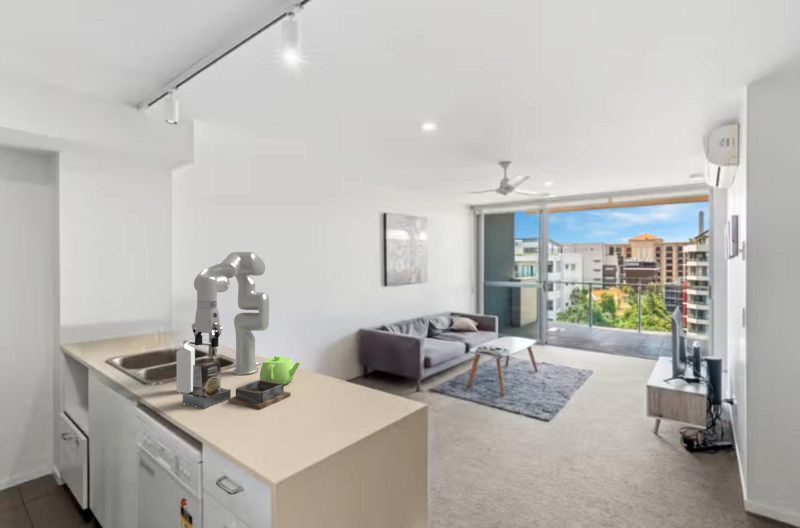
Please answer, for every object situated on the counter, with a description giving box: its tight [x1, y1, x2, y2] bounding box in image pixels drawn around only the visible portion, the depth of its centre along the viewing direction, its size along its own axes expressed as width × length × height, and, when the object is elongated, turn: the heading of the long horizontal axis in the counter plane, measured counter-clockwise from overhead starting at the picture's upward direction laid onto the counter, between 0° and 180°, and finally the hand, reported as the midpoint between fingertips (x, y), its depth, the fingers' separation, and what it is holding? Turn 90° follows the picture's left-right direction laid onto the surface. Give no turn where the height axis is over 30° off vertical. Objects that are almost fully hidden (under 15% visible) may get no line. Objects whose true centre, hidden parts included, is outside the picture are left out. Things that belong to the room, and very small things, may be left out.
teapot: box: [259, 355, 301, 385], centre depth 197 cm, size 18×20×13 cm
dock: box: [227, 379, 292, 410], centre depth 174 cm, size 18×18×6 cm
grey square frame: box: [182, 387, 232, 410], centre depth 171 cm, size 13×13×4 cm
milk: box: [176, 341, 196, 393], centre depth 184 cm, size 6×6×22 cm
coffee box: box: [193, 360, 222, 398], centre depth 171 cm, size 9×6×16 cm
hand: (206, 346), depth 170 cm, fingers open, 9 cm apart
